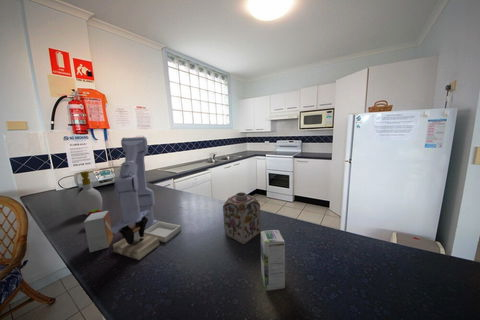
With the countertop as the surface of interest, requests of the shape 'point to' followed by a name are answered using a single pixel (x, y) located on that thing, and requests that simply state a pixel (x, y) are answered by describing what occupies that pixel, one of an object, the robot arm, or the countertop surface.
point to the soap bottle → (88, 195)
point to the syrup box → (273, 259)
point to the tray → (163, 231)
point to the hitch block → (136, 247)
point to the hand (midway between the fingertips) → (135, 239)
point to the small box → (98, 231)
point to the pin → (135, 234)
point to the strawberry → (94, 211)
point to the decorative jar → (242, 217)
